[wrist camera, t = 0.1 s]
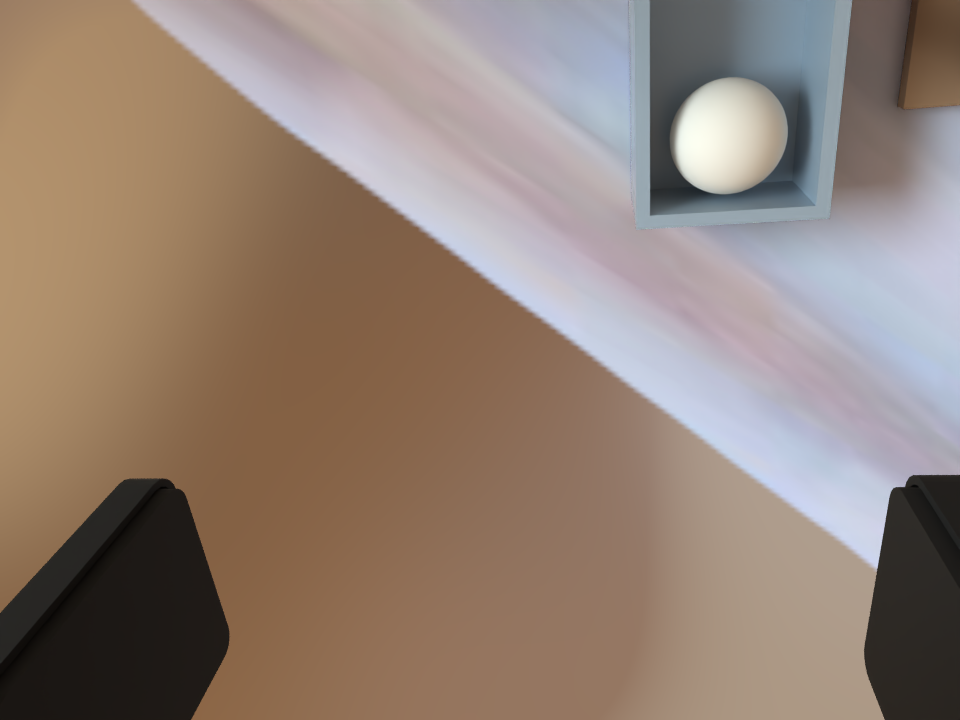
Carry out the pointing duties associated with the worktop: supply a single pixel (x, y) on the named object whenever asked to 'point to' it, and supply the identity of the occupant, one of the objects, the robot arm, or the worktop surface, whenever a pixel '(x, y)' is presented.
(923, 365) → the worktop surface
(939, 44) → the walnut rack
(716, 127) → the cream ball in tray
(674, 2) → the pale blue tray
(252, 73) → the worktop surface
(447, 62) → the worktop surface
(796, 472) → the worktop surface
